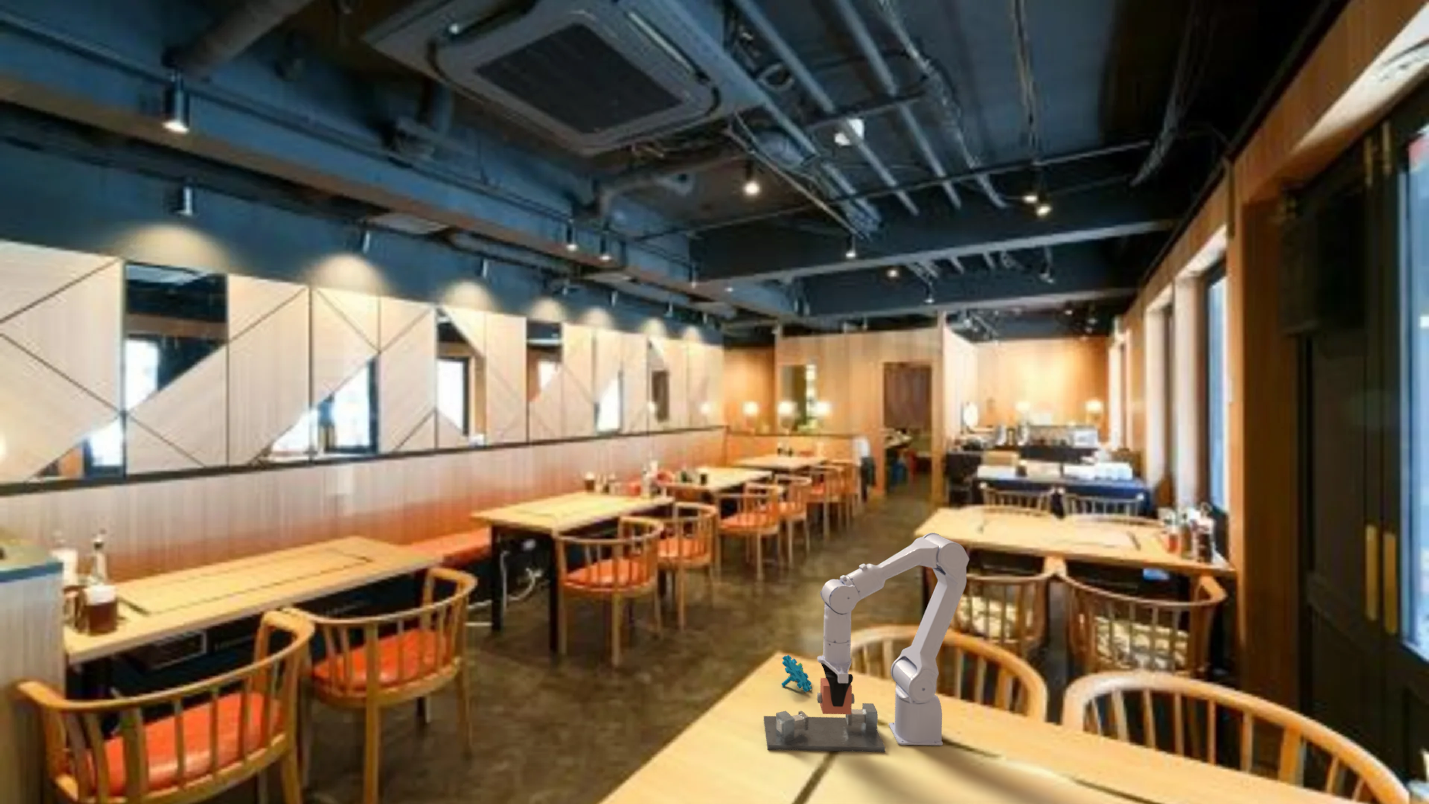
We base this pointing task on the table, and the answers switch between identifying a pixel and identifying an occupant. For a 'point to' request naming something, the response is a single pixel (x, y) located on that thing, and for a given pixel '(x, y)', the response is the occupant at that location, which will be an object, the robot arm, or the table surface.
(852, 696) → the block
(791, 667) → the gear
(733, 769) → the table surface
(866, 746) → the stand
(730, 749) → the table surface
